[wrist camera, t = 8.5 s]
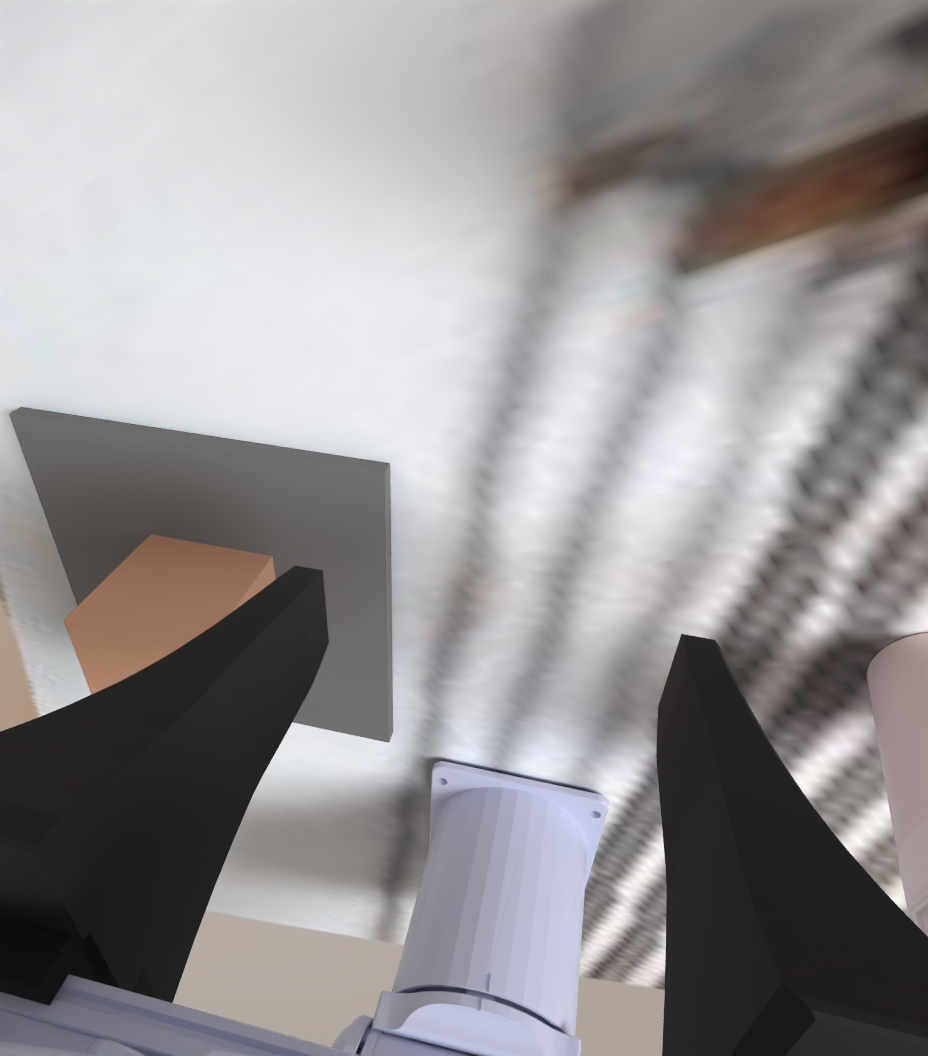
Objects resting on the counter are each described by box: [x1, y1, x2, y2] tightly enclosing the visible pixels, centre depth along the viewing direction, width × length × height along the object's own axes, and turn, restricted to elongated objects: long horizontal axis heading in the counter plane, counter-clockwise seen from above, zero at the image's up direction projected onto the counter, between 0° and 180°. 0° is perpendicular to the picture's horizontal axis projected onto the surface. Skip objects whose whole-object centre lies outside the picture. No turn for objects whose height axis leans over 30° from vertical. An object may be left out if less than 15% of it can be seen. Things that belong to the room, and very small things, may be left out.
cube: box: [64, 534, 276, 694], centre depth 26 cm, size 5×5×5 cm
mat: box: [9, 407, 393, 742], centre depth 28 cm, size 14×14×1 cm
